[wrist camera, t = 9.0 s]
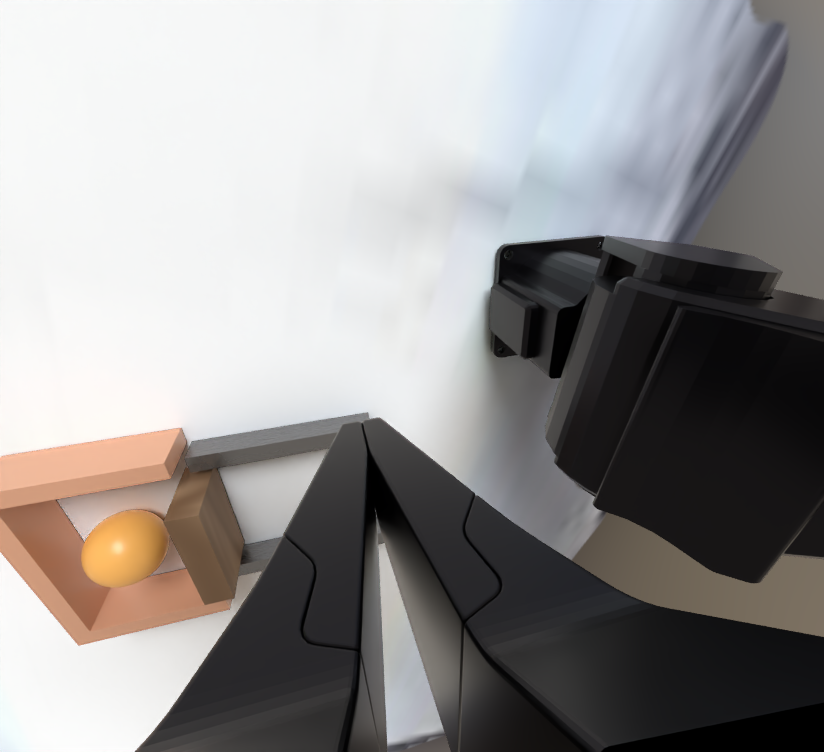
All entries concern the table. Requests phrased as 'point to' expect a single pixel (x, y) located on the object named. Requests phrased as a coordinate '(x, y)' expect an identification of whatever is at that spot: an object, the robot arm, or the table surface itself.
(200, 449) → the track
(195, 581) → the brown wooden block
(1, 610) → the table surface
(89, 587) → the pocket
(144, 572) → the ball
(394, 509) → the robot arm
